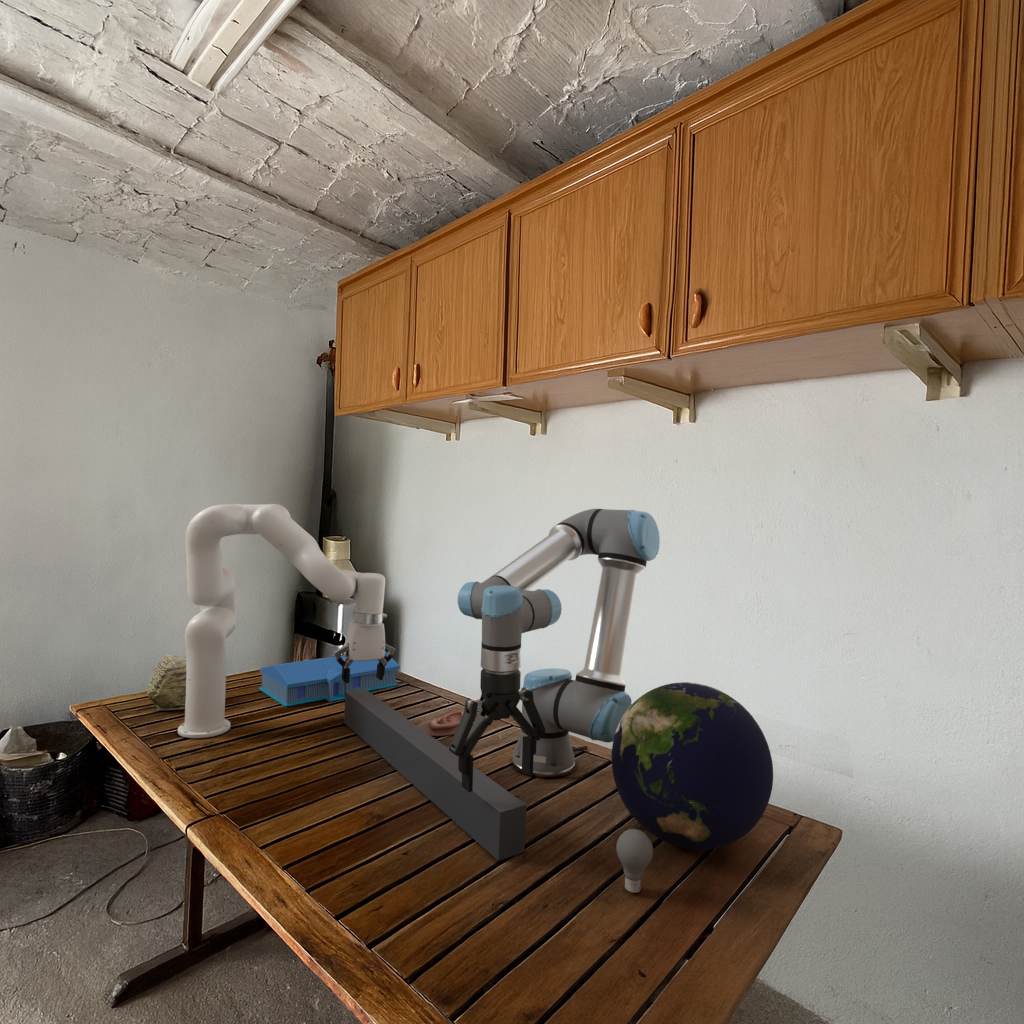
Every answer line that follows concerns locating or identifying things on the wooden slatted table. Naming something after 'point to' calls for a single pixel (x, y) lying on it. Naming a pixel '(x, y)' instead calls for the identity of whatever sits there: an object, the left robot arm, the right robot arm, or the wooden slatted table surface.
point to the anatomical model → (442, 724)
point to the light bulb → (634, 857)
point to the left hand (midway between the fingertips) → (362, 680)
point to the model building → (322, 679)
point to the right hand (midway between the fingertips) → (498, 780)
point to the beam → (440, 775)
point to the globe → (692, 766)
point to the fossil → (169, 683)
